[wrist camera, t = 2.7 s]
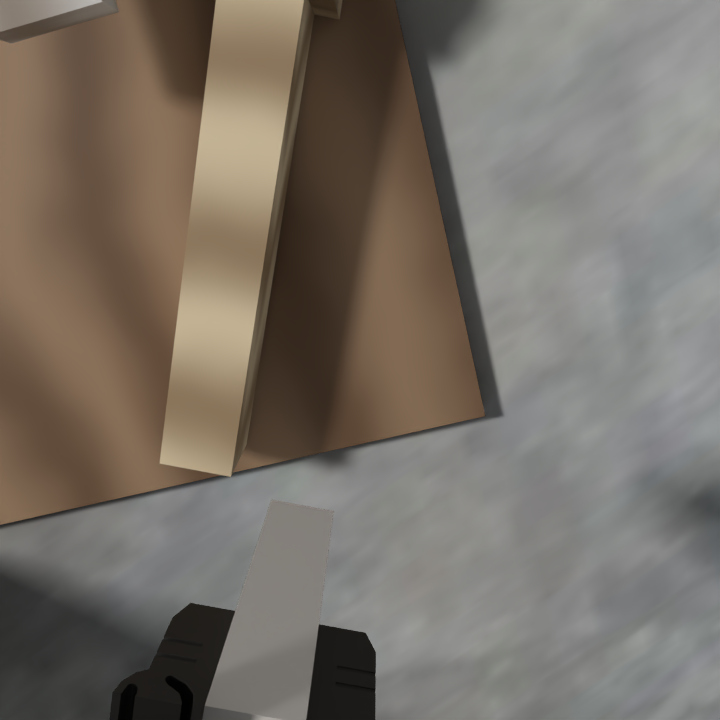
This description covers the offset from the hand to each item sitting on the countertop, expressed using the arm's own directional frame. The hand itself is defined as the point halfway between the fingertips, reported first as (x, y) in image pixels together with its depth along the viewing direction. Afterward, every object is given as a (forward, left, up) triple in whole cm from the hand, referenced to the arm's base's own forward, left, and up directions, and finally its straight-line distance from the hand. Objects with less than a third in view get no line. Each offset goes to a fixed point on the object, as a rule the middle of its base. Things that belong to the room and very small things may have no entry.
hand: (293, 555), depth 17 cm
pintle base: (+7, -11, -16) cm, 21 cm away
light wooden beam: (+1, -9, -15) cm, 17 cm away
